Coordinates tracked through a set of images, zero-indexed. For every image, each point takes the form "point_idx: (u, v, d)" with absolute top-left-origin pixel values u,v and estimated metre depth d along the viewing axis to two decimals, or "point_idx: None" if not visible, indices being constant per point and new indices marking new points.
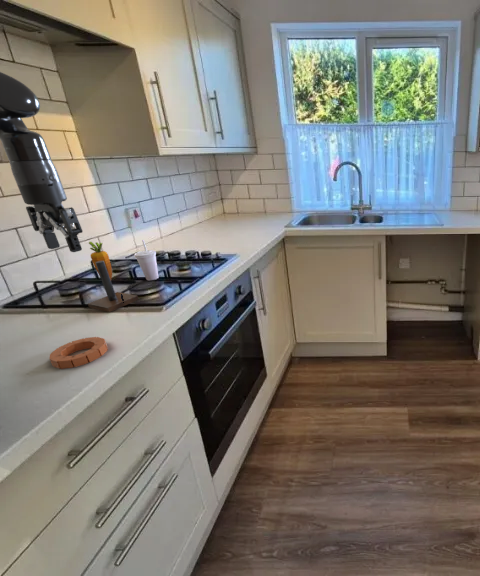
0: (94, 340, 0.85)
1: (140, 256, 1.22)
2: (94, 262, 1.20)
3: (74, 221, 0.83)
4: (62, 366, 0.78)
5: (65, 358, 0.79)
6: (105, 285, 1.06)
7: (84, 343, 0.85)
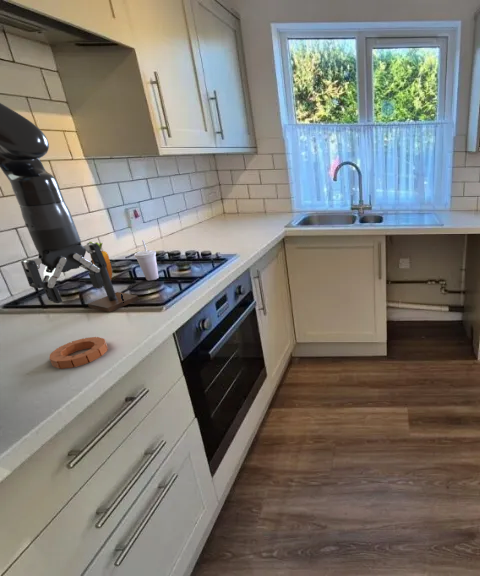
0: (94, 340, 0.85)
1: (140, 256, 1.22)
2: None
3: None
4: (62, 366, 0.78)
5: (65, 358, 0.79)
6: (105, 285, 1.06)
7: (84, 343, 0.85)
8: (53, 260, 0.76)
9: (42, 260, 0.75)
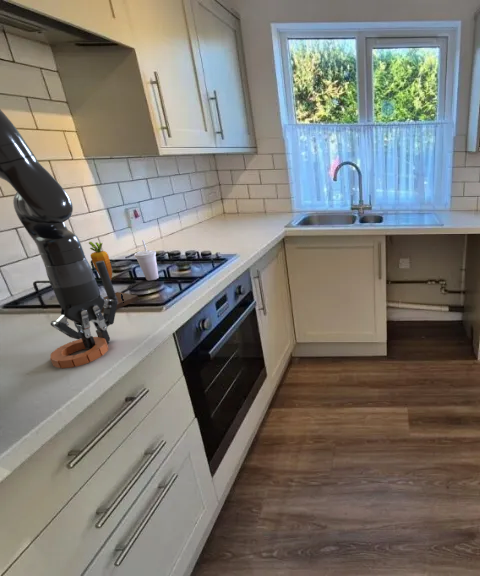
0: (95, 340, 0.86)
1: (140, 256, 1.22)
2: (94, 262, 1.20)
3: None
4: (63, 366, 0.78)
5: (66, 358, 0.79)
6: (105, 285, 1.06)
7: None
8: (75, 313, 0.80)
9: (65, 314, 0.79)
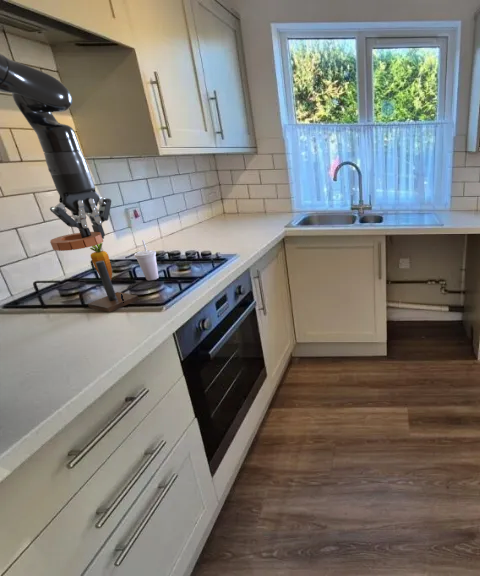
0: (91, 233, 0.94)
1: (140, 256, 1.22)
2: (94, 262, 1.20)
3: None
4: (61, 248, 0.86)
5: (64, 241, 0.87)
6: (105, 285, 1.06)
7: None
8: (72, 202, 0.88)
9: (63, 201, 0.87)
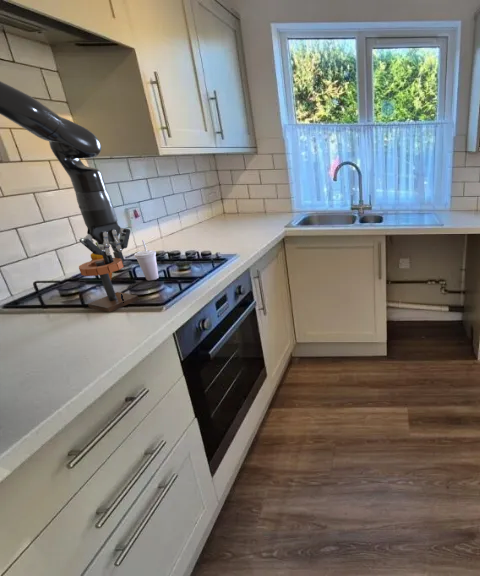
0: (113, 259, 1.07)
1: (140, 256, 1.22)
2: None
3: None
4: (89, 273, 1.00)
5: (91, 268, 1.00)
6: (105, 285, 1.06)
7: None
8: (98, 234, 1.02)
9: (90, 233, 1.00)
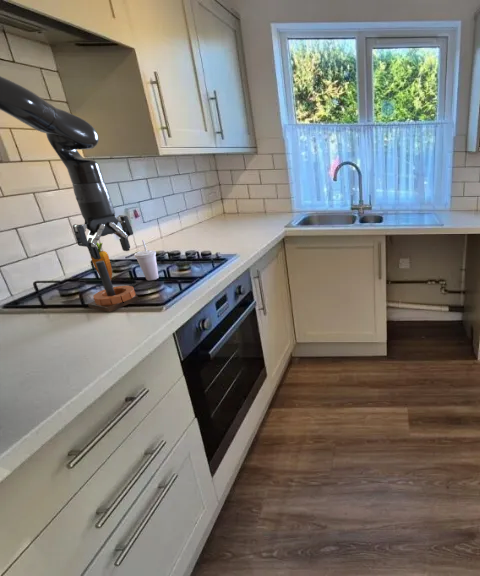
0: (125, 287, 1.12)
1: (140, 256, 1.22)
2: (94, 262, 1.20)
3: None
4: (103, 303, 1.04)
5: (105, 297, 1.05)
6: (105, 285, 1.06)
7: (118, 289, 1.11)
8: (95, 226, 1.01)
9: (87, 225, 0.99)
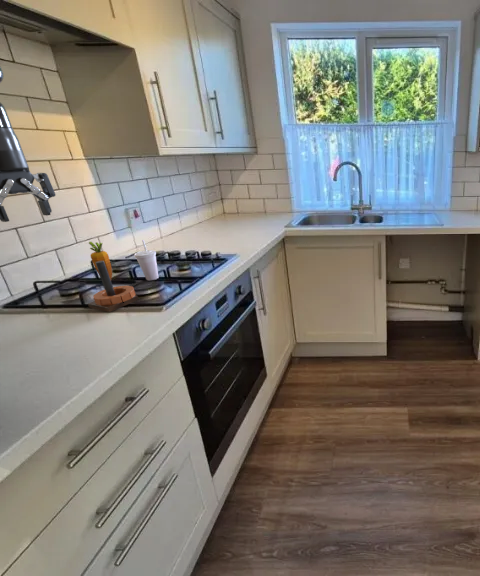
0: (125, 287, 1.12)
1: (140, 256, 1.22)
2: (94, 262, 1.20)
3: None
4: (103, 303, 1.04)
5: (105, 297, 1.05)
6: (105, 285, 1.06)
7: (118, 289, 1.11)
8: (1, 181, 0.84)
9: None
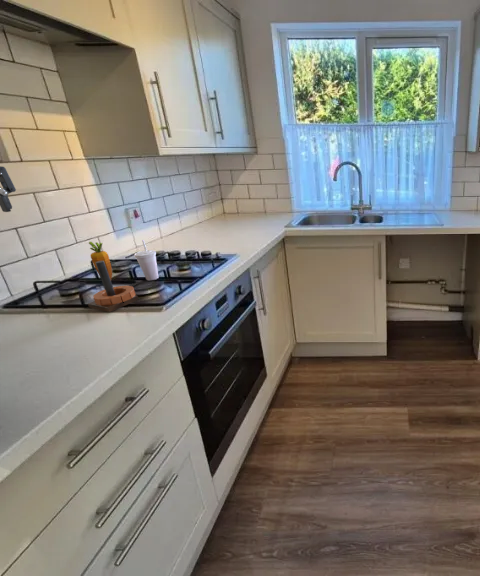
0: (125, 287, 1.12)
1: (140, 256, 1.22)
2: (94, 262, 1.20)
3: None
4: (103, 303, 1.04)
5: (105, 297, 1.05)
6: (105, 285, 1.06)
7: (118, 289, 1.11)
8: None
9: None
